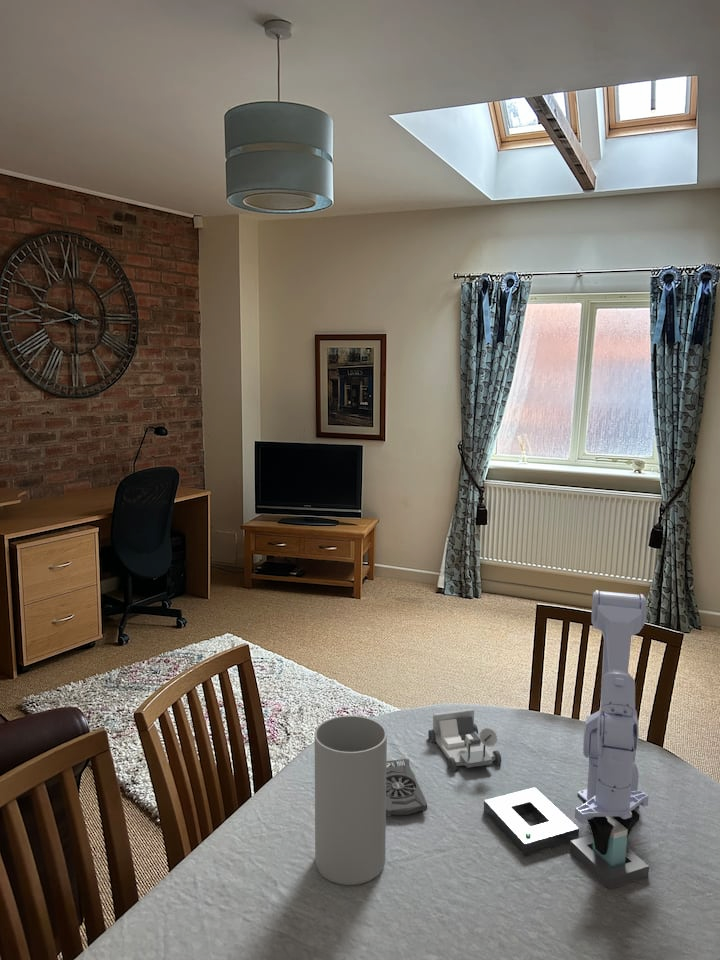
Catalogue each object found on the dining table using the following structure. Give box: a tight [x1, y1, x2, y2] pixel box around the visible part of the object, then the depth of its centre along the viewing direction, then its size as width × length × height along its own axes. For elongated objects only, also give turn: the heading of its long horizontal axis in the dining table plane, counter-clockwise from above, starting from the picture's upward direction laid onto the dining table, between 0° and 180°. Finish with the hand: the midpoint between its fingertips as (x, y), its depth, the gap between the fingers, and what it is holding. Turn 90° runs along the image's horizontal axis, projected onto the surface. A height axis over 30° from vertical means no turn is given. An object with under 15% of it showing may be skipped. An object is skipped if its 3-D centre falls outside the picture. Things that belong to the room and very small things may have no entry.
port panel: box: [483, 787, 580, 857], centre depth 140 cm, size 12×14×3 cm
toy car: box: [427, 707, 502, 773], centre depth 164 cm, size 18×10×12 cm
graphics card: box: [386, 757, 428, 817], centre depth 150 cm, size 17×4×12 cm
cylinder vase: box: [314, 715, 388, 886], centre depth 128 cm, size 12×12×25 cm
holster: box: [569, 834, 650, 890], centre depth 130 cm, size 8×10×2 cm
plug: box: [593, 817, 628, 868], centre depth 129 cm, size 3×5×8 cm, turn 22°
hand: (609, 848), depth 129 cm, fingers open, 3 cm apart
